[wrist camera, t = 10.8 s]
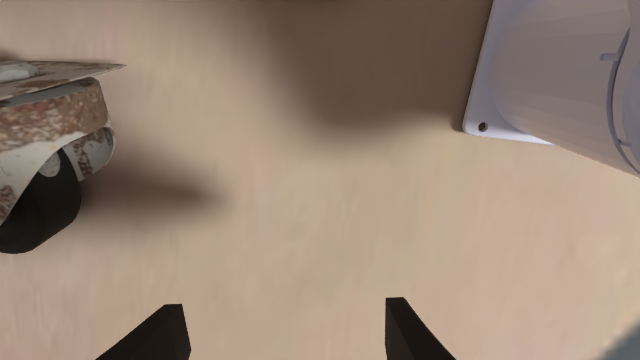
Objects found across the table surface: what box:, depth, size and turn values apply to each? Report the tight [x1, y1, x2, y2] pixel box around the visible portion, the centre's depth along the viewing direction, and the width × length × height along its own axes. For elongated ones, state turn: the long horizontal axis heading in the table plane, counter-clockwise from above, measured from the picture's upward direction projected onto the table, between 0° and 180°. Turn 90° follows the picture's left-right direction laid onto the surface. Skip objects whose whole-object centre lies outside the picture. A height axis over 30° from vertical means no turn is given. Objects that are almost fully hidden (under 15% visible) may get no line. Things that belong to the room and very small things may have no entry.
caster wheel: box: [0, 60, 126, 254], centre depth 18 cm, size 7×11×10 cm
